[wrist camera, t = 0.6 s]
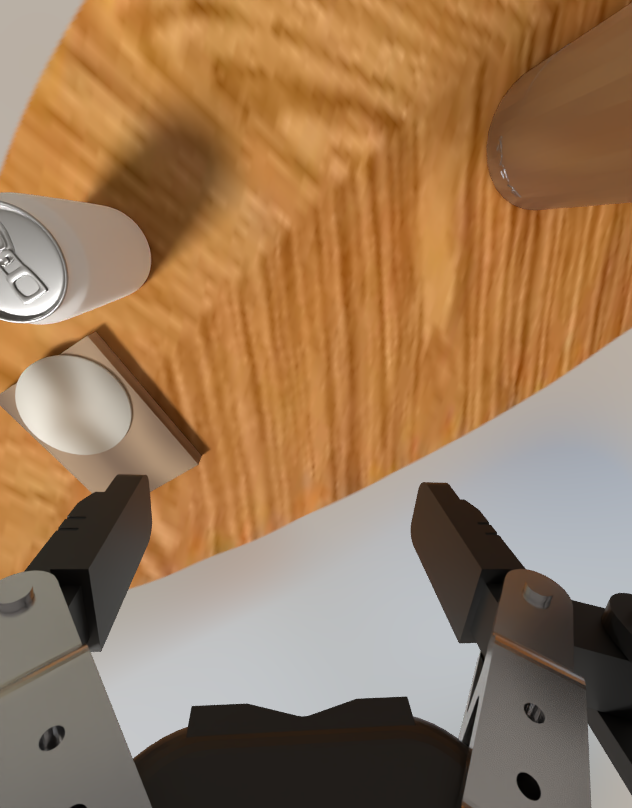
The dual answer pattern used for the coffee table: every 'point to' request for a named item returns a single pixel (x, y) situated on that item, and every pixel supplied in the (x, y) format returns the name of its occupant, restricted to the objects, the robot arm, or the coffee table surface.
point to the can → (65, 257)
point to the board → (98, 418)
